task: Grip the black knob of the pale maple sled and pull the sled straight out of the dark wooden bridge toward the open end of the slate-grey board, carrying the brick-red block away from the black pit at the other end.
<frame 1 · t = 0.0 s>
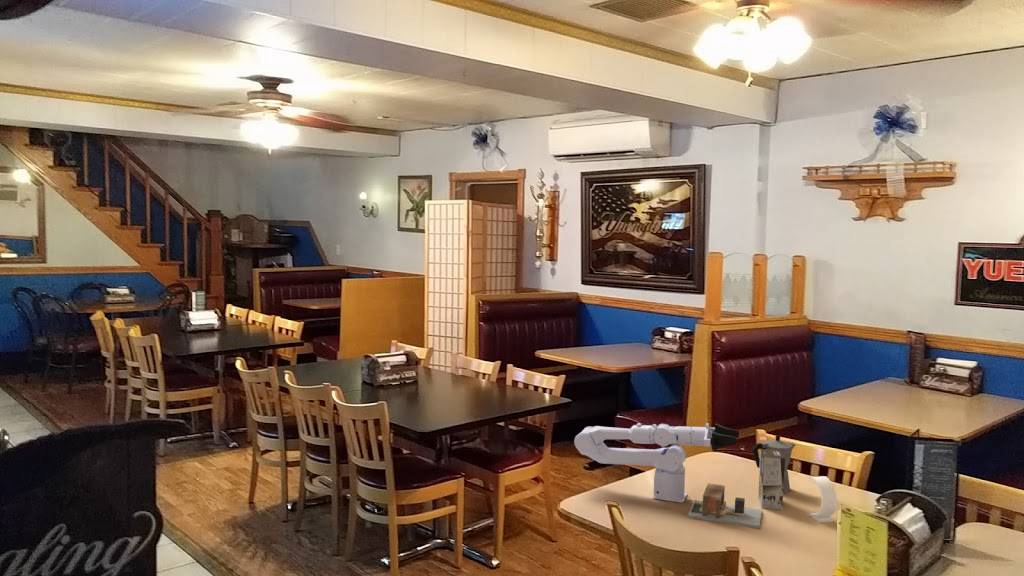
hand: (737, 437, 228), 22 cm above the table, tool horizontal, fingers open, 7 cm apart
coffeepot: (772, 489, 246), on the table
track board: (725, 514, 224), on the table
headphone stand: (822, 520, 221), on the table
sled: (722, 503, 224), point 3 cm above the table, slide at 0.0 cm, touching block
bridge: (713, 500, 225), on the track board, point 4 cm above the table
coffee box: (770, 504, 233), on the table
block: (713, 507, 225), point 2 cm above the table, touching sled
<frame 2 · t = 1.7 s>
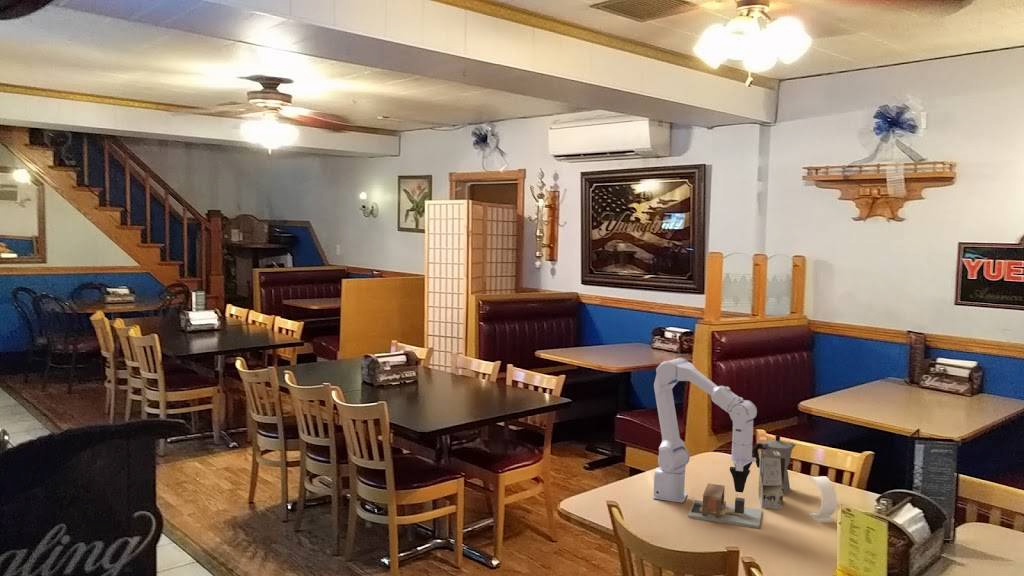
hand: (740, 487, 221), 9 cm above the table, tool pointing down, fingers open, 7 cm apart
nothing on the table moved.
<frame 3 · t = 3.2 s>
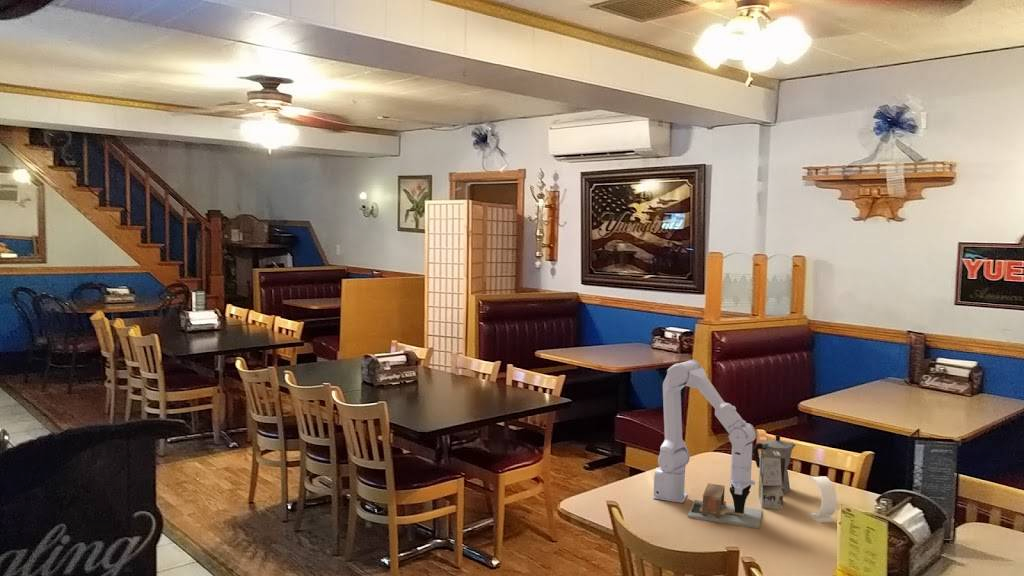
hand: (739, 510, 222), 2 cm above the table, tool pointing down, fingers closed on sled, 2 cm apart
sled: (722, 503, 224), point 3 cm above the table, slide at 0.0 cm, touching block, gripper
everything else where it was.
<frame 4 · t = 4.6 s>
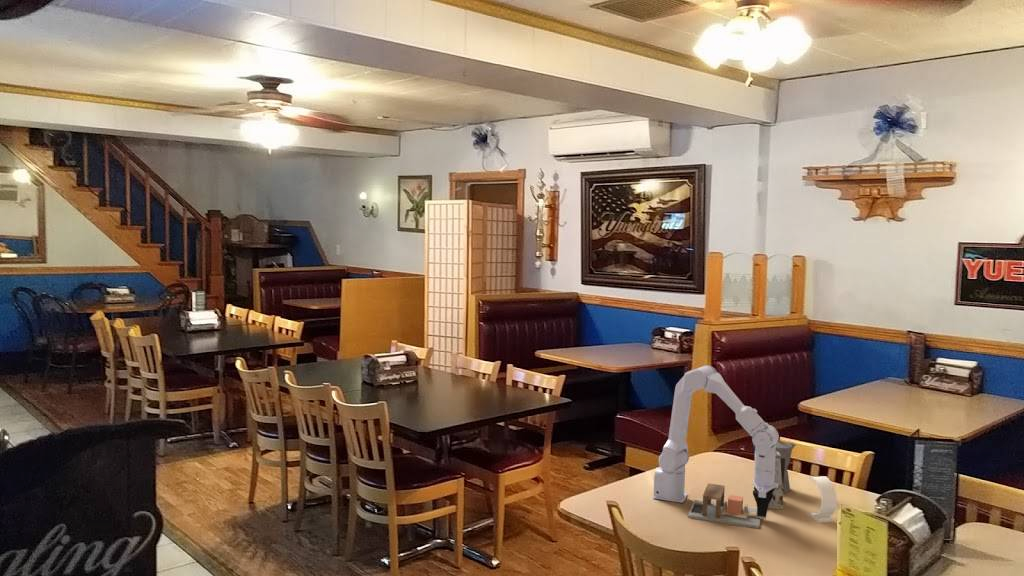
hand: (762, 513, 220), 2 cm above the table, tool pointing down, fingers closed on sled, 2 cm apart
sled: (744, 507, 222), point 3 cm above the table, slide at 6.3 cm, touching block, gripper
block: (735, 511, 223), point 2 cm above the table, touching sled
everything else where it was.
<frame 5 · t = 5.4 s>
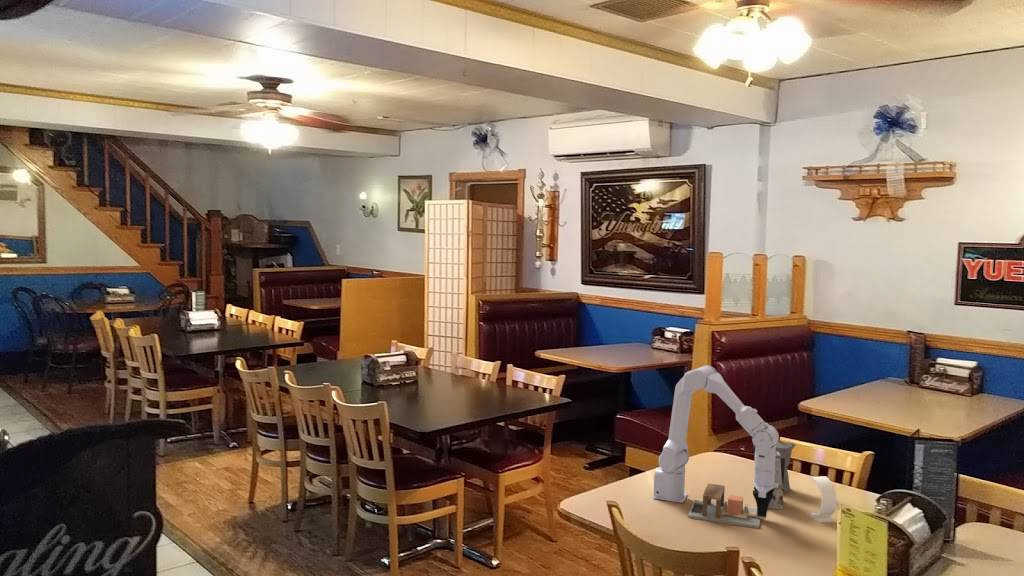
hand: (762, 513, 220), 2 cm above the table, tool pointing down, fingers closed on sled, 2 cm apart
sled: (744, 507, 222), point 3 cm above the table, slide at 6.3 cm, touching block, gripper
everything else where it was.
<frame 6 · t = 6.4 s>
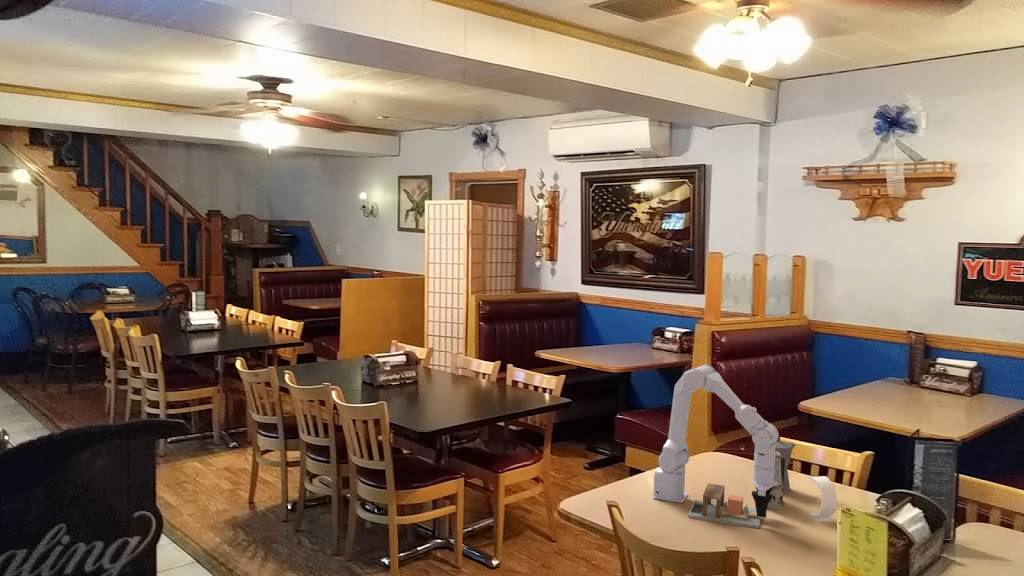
hand: (761, 511, 220), 3 cm above the table, tool pointing down, fingers open, 7 cm apart
sled: (744, 507, 222), point 3 cm above the table, slide at 6.3 cm, touching block
everything else where it was.
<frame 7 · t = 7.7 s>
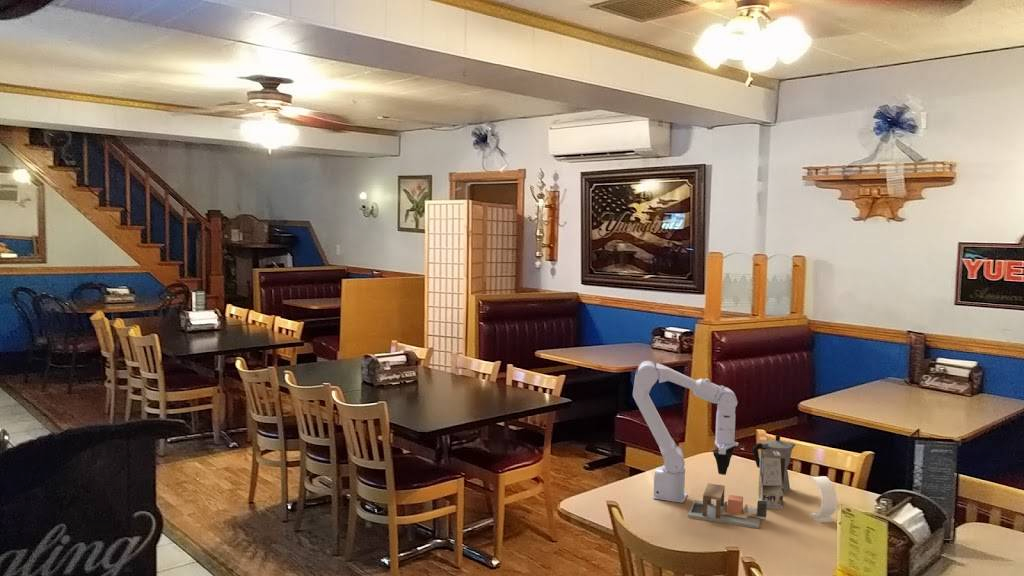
hand: (723, 470, 234), 10 cm above the table, tool pointing down, fingers open, 7 cm apart
nothing on the table moved.
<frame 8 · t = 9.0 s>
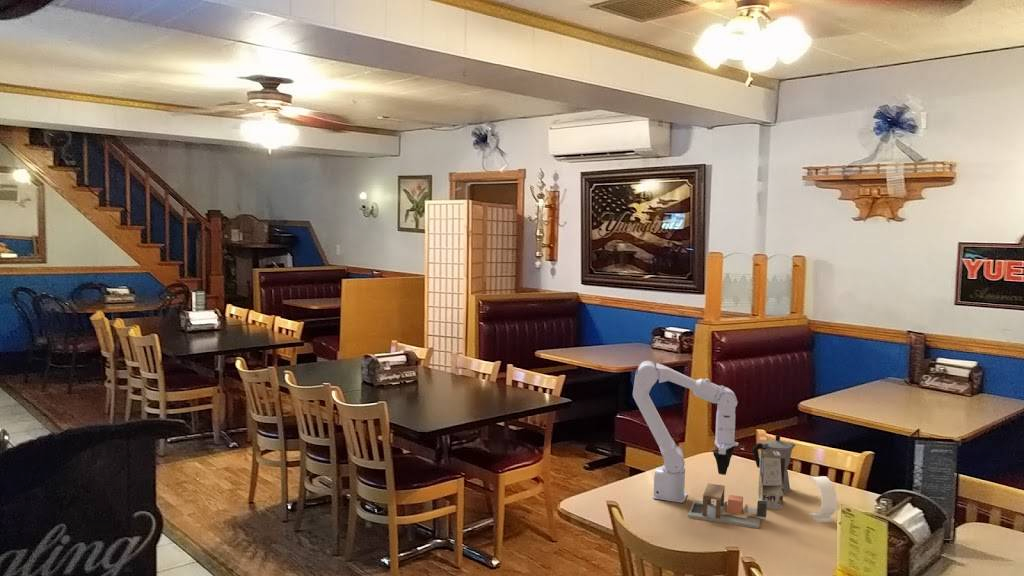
hand: (723, 470, 234), 10 cm above the table, tool pointing down, fingers open, 7 cm apart
nothing on the table moved.
at the end: sled slide at 6.3 cm; block inside the target area (1.2 cm from its centre), point 1.6 cm above the table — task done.
